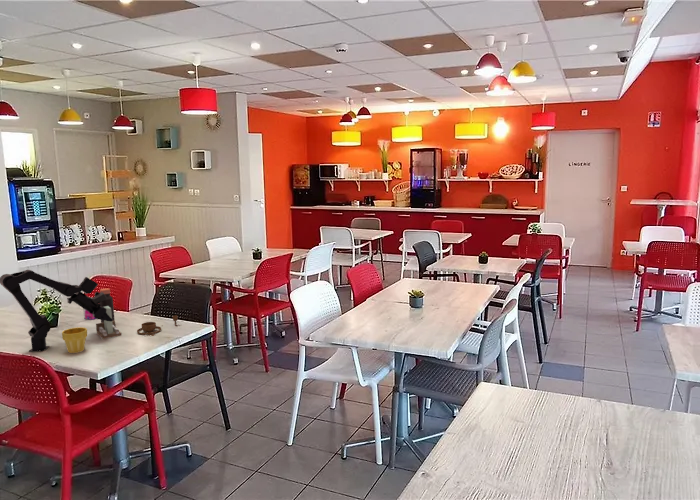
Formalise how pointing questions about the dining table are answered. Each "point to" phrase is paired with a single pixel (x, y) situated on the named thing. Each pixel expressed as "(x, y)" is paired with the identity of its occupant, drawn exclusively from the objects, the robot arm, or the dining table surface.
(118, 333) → the cabinet base
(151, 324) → the place setting
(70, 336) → the plant pot
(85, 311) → the supplement box
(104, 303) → the bottle
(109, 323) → the pale green rectangular box
